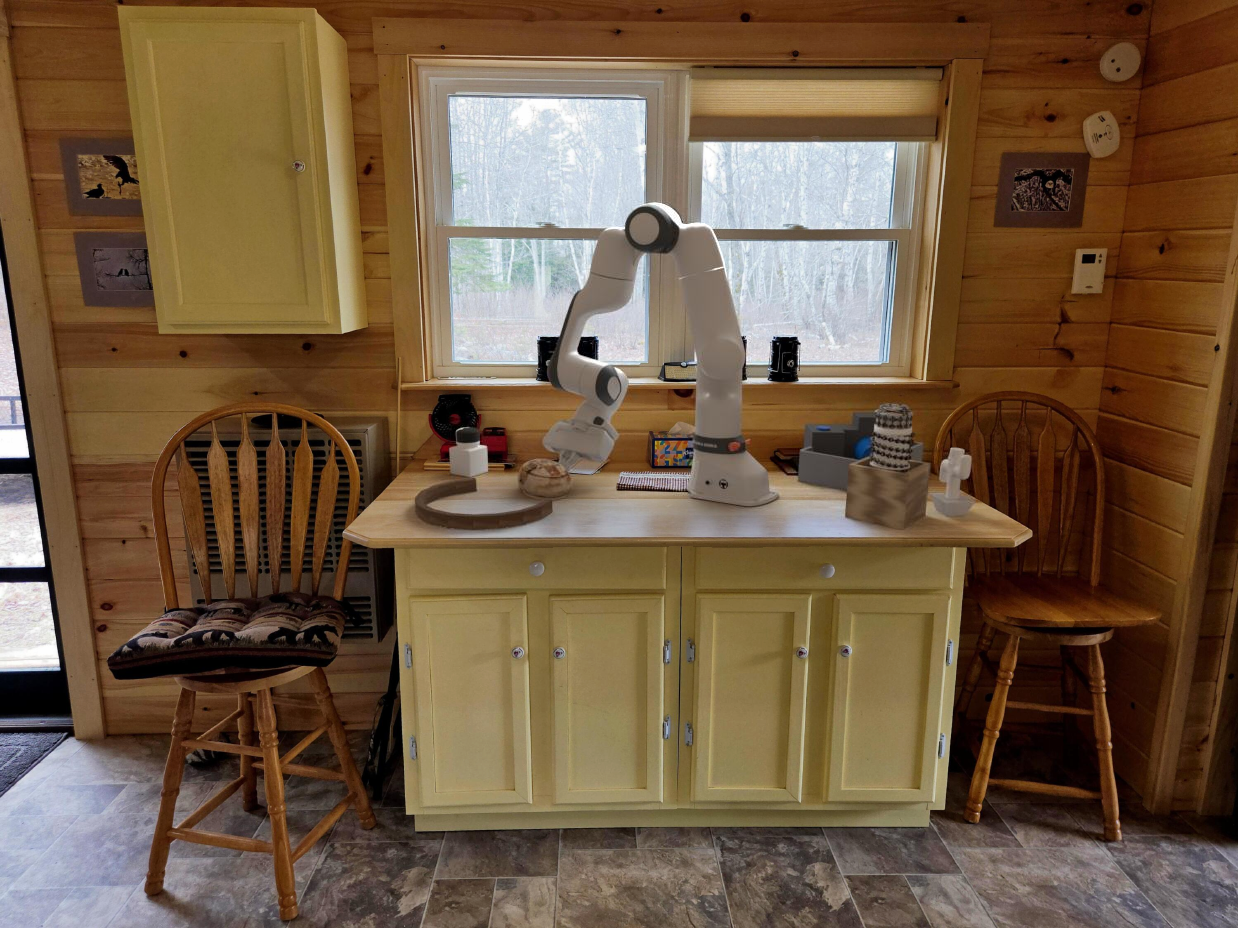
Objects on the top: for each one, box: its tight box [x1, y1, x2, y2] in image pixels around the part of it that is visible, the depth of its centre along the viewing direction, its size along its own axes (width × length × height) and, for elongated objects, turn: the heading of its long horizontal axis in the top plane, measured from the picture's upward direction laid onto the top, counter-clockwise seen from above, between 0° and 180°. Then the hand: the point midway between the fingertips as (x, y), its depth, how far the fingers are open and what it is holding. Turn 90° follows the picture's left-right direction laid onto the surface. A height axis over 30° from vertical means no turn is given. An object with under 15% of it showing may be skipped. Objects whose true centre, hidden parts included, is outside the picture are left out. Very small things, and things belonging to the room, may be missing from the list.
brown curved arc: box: [414, 477, 553, 531], centre depth 184 cm, size 31×24×3 cm
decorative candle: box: [870, 403, 916, 473], centre depth 179 cm, size 9×9×25 cm
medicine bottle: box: [448, 426, 489, 478], centre depth 215 cm, size 7×7×12 cm
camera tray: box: [797, 441, 924, 492], centre depth 214 cm, size 21×30×8 cm
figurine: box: [928, 447, 976, 517], centre depth 183 cm, size 7×9×15 cm
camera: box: [803, 411, 876, 460], centre depth 215 cm, size 25×16×16 cm, turn 87°
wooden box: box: [844, 456, 932, 530], centre depth 181 cm, size 13×13×12 cm
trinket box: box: [517, 458, 572, 501], centre depth 199 cm, size 13×15×8 cm
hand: (561, 468), depth 204 cm, fingers closed
